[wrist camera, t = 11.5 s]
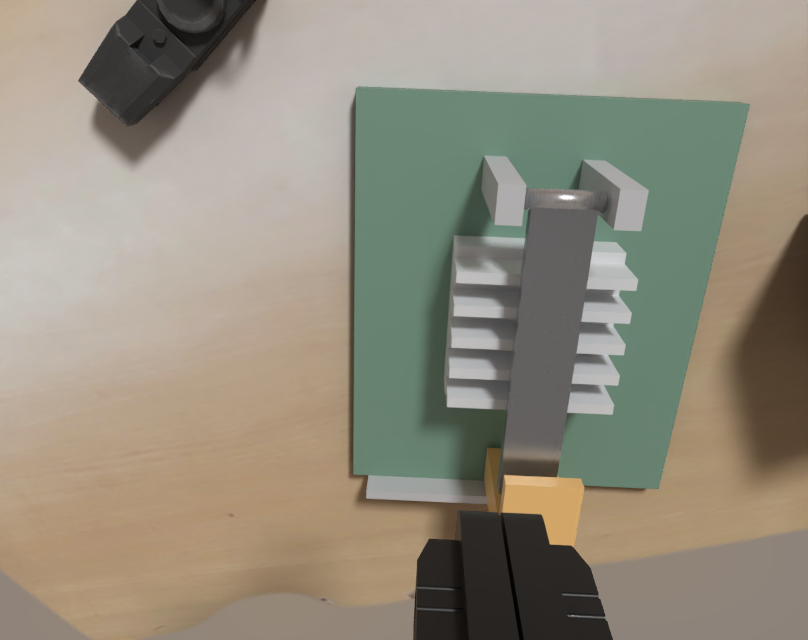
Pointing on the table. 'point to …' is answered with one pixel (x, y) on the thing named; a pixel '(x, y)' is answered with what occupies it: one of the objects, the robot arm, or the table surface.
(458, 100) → the slotted rack on board
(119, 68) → the reflex sight
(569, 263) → the strap
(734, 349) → the table surface
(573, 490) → the clip
